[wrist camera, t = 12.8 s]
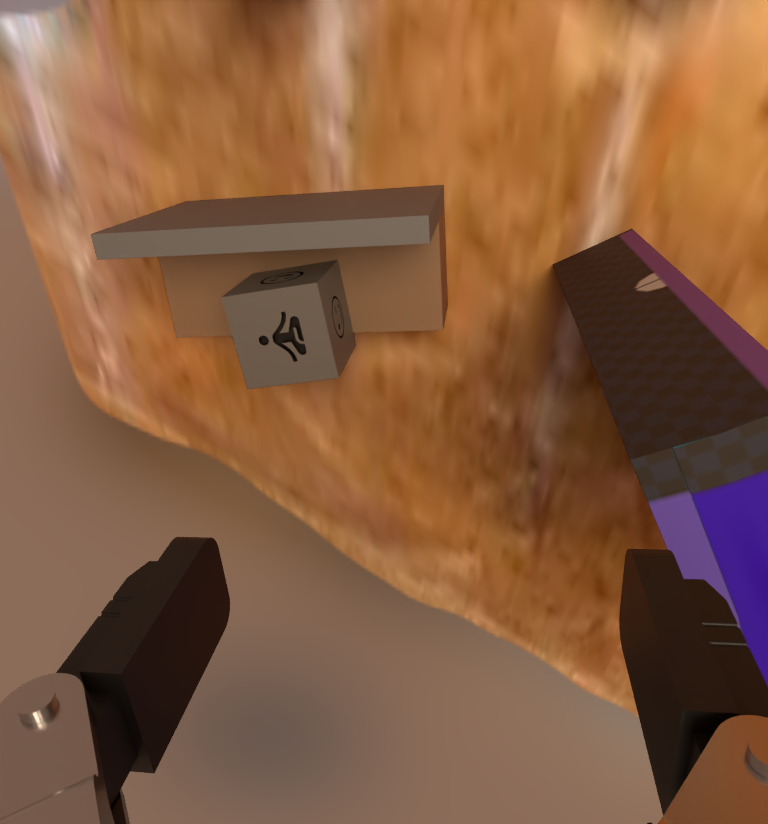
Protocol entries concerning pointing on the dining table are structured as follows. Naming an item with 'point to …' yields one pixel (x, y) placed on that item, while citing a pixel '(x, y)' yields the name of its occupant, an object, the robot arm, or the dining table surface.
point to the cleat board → (298, 252)
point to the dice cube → (291, 325)
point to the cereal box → (684, 415)
